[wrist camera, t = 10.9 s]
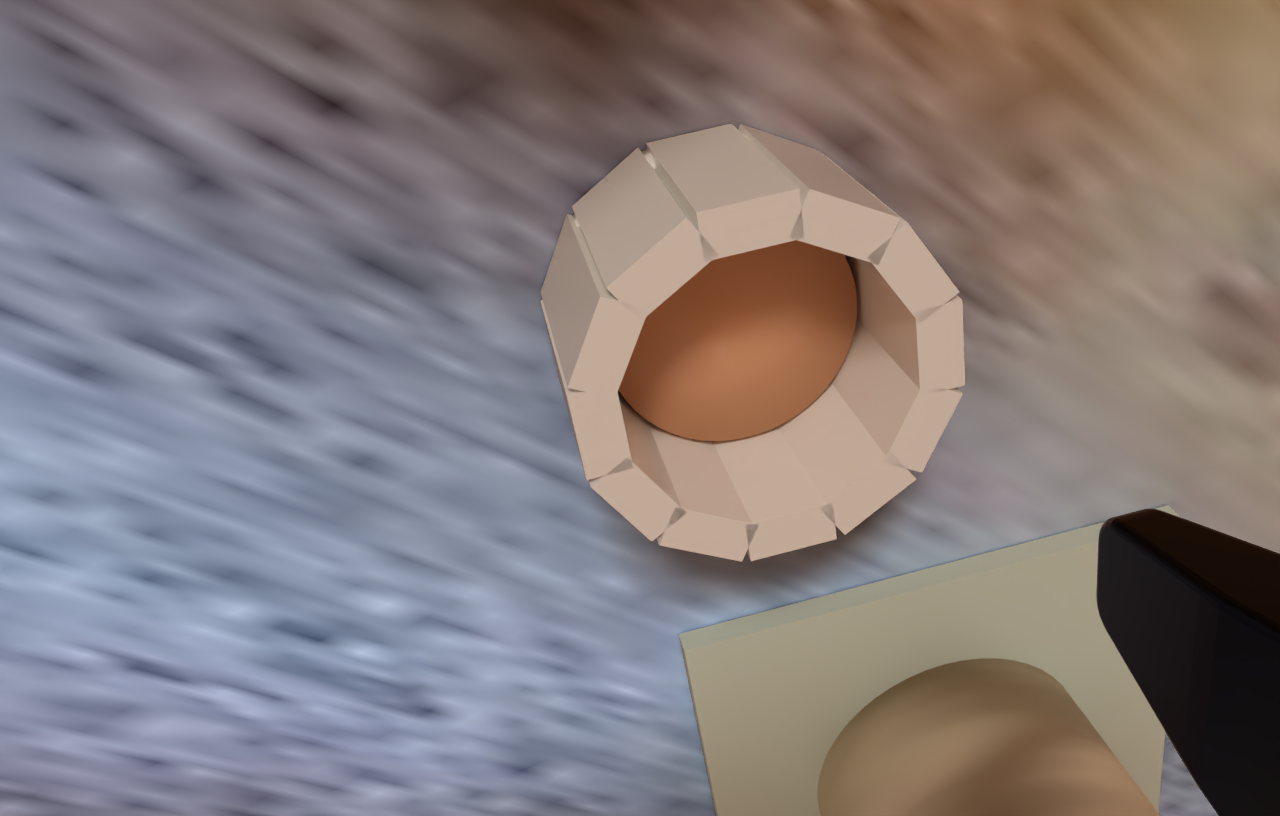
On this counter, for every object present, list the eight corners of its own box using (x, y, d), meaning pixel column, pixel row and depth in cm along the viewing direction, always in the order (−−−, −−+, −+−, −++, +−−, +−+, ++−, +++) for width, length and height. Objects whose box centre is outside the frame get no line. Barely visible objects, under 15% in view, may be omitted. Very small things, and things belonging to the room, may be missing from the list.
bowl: (863, 93, 20) (957, 151, 17) (886, 402, 24) (968, 504, 20) (510, 174, 20) (532, 250, 16) (583, 478, 23) (614, 596, 20)
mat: (1167, 505, 26) (1183, 519, 26) (1142, 840, 32) (1154, 857, 32) (678, 634, 26) (684, 651, 25) (744, 955, 31) (750, 974, 31)
